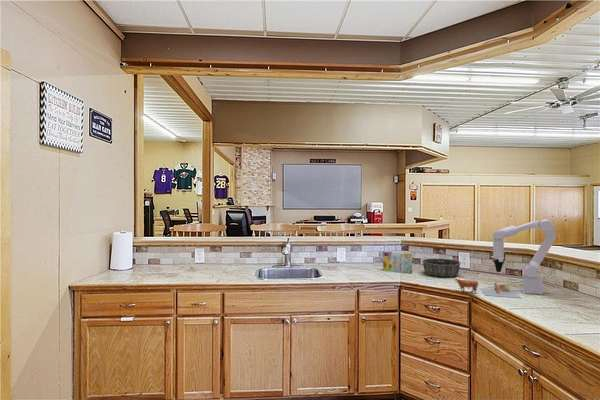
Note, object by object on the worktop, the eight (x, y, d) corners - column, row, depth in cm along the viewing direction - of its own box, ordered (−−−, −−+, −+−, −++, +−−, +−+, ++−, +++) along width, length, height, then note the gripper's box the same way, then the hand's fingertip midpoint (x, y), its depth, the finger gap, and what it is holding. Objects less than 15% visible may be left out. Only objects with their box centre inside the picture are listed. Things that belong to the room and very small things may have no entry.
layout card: (514, 291, 217) (514, 290, 217) (521, 298, 201) (521, 297, 201) (480, 289, 222) (480, 288, 222) (485, 295, 207) (485, 295, 207)
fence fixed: (508, 291, 214) (508, 283, 214) (509, 292, 213) (509, 284, 213) (494, 290, 217) (494, 282, 217) (495, 291, 216) (494, 283, 216)
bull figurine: (455, 289, 222) (455, 276, 222) (479, 293, 213) (478, 279, 213) (452, 290, 218) (452, 277, 218) (477, 294, 210) (476, 280, 210)
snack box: (412, 272, 274) (412, 252, 274) (410, 273, 269) (410, 253, 269) (385, 269, 285) (385, 250, 285) (382, 270, 280) (382, 251, 280)
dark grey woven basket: (461, 280, 247) (461, 265, 247) (421, 277, 257) (421, 263, 257) (460, 272, 272) (460, 259, 272) (423, 270, 282) (423, 257, 282)
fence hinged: (495, 290, 215) (495, 284, 215) (497, 290, 215) (497, 284, 215) (497, 293, 209) (497, 286, 209) (499, 293, 209) (499, 286, 209)
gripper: (489, 247, 231) (489, 269, 231) (493, 251, 217) (493, 273, 217) (501, 248, 229) (501, 269, 229) (506, 251, 215) (506, 274, 215)
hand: (498, 271), depth 223 cm, fingers closed
